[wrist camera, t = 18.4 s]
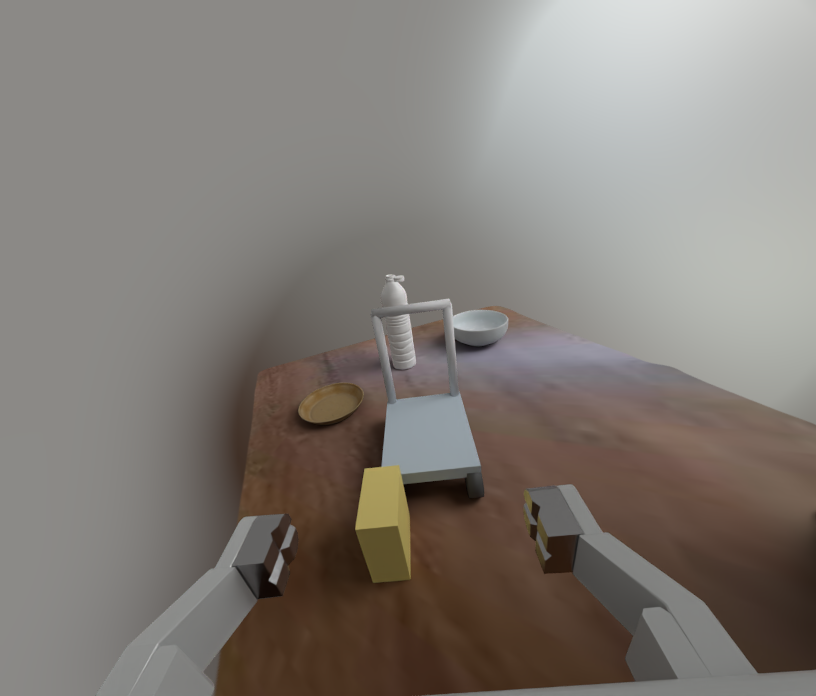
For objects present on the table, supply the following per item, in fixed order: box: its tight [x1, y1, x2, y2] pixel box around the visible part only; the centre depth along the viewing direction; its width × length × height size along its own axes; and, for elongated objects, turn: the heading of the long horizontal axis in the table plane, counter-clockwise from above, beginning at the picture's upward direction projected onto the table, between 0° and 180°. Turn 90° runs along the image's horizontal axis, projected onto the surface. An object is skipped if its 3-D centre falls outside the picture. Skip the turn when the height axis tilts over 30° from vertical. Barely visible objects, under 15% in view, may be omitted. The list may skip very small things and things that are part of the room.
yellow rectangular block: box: [355, 465, 411, 583], centre depth 37 cm, size 4×8×10 cm, turn 0°
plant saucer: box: [298, 383, 364, 425], centre depth 68 cm, size 15×15×3 cm
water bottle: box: [381, 274, 416, 370], centre depth 77 cm, size 9×6×25 cm
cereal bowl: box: [453, 310, 508, 346], centre depth 88 cm, size 17×17×7 cm
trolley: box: [371, 299, 484, 498], centre depth 47 cm, size 14×21×25 cm, turn 0°
